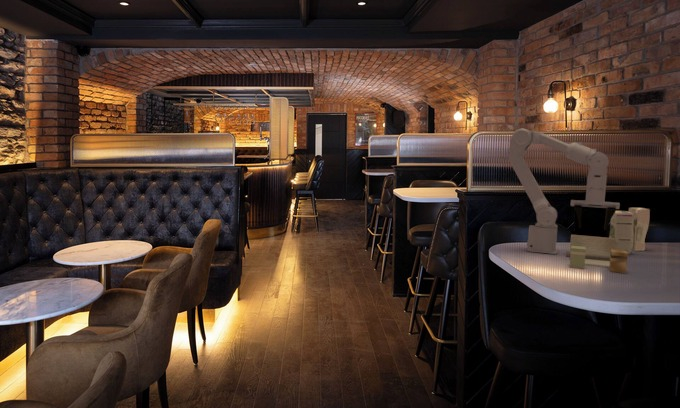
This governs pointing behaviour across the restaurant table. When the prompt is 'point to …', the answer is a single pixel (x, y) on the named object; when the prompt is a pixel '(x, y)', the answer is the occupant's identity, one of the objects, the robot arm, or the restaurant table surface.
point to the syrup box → (622, 229)
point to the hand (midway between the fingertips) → (592, 228)
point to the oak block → (618, 261)
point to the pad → (597, 263)
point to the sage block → (577, 257)
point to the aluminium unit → (594, 246)
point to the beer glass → (639, 227)
